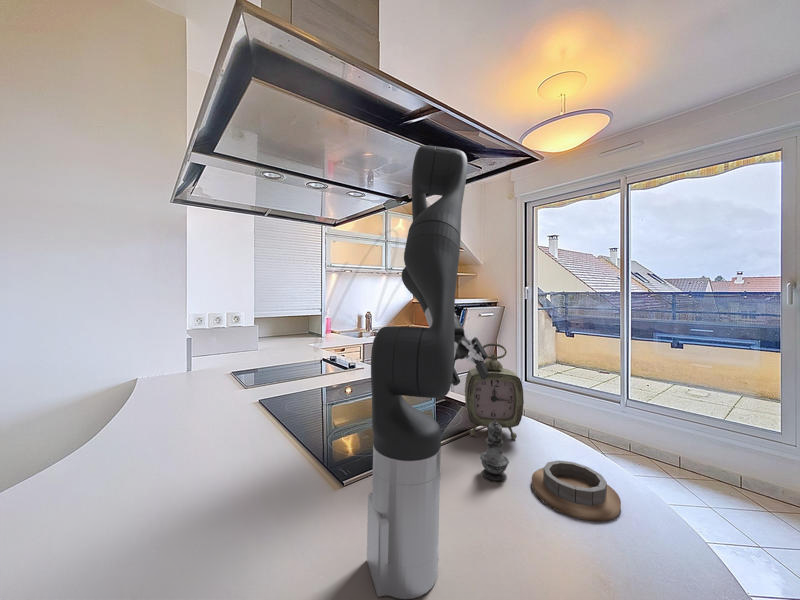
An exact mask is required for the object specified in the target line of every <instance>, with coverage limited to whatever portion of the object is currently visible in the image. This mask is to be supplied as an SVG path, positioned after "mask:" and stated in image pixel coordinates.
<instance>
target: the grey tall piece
mask: <svg viewBox="0 0 800 600" xmlns="http://www.w3.org/2000/svg"><path fill="white" fill-rule="evenodd" d="M496 422H497V421H496V419H495V420H494V422H493V423H491V424H489V426H488V429H487V438H485V441H486V443H487V449H486V451H485V452H483V453H481V454H480V456H479V459H480V461H481V465H482V467H483V468H484V469H482V470H481V471H480V475H481V477H482V478H483V479H485V480H486V481H488V482H491V483H496V484H498V483H499V484H500V483H504V482H506V481H507V479H508V476H507V474H506V473H505V471H506V470H507V467H508V465H509V463H510V460H509V459H508V457H507V456H505V455H504V454H503V444H504V440H503V428H502V427H501V425H500V424H498V423H496Z"/></svg>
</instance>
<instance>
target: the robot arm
mask: <svg viewBox="0 0 800 600" xmlns="http://www.w3.org/2000/svg"><path fill="white" fill-rule="evenodd" d="M467 174H468V157H467V154H466V153H465V152H464V151H462V150H461V149H457V148H450V147H443V146H434V145H420V146H419V147H418V149H417V150H416V153H415V156H414V159H413V164H412V173H411V212H412V222H411V224H410V226H409V229H408V231H407V236H406V242H405V245H404V253H403V261H404V265H405V267H404V268H403V269H402V270H401V280H402V283H403V285H404V287H405V288H406V290H408V291H409V293H410V294H412V296H413V297H414V299H415V300H416V301H417V302H418V303H419V305H420V307H421V309H422V312H423V313H424V316H425V319H426V323H427V325H428V327H419V326H418V327H417V326H397V325H396V326H395V325H388V326H387V325H386V326H383V327H380V328H379V330H378V331H377V332H376V334H375V336H374V337H373V342H372V347H371V356H370V383H371V384H370V385H371V426H372V434H373V435H372V443H373V445H372V481H371V482H372V484H371V487H372V490H371V492H369V493H368V495H367V525H366V526H367V527H366V537H367V539H366V562H367V566H368V569H369V572H370V576H371V579H372V582H373V585H374V589H375V593H376V596H377V597H379V598H381V597H383V596H389V597H392V598H395V599H400V600H411V599H412V600H413V599H417V598H419V597H421V596H423V595H425V594H427V593H428V592H429V591H430V590H431V589H432V588H433V587H434V585H435V584H436V582H437V579H438V573H439V560H440V559H439V557H440V556H439V541H440V540H439V535H440V531H439V530H440V493H441V457H442V453H441V450H442V430H441V427H440V425H439V423H438V422H437V421H436V420H435V419H434V418H433V417H431V416H429V415H428V414H426V413H425V412H422V411H420V410H418V409H417V408H415V407H413V406H412V405H411V404H409V402H407V400H406V399H405V398H404V397H403V396H405V397H414V398H415V397H416V398H427V399H442V398H445V397H446V396H447V395H448V394H449V392H450V389H451V387H452V385H453V386H454V387H455V386H458V385H460V383H461V378H460V377H459V374H458V372H457V371H456V369H455V361H457V360H465V361H467V362H471V363H472V364H473V365H475V367H474V368H476V369H477V371H478V373H479V375H480V377H481V379H482V380H484V379H486V378H487V377H489V372H488V370H487V368H486V366H485V362H484V361H486V360H487V359H488V358H487V357H488V356H489V355H488V354H487V352H486V350H485V348H483V345H482V343H481V342H480V340H479V339H478V337H476V336H475V337H473V338H472V339H468V338H467V337H466V334H465V329H464V327H463V325H462V323H461V322H460V320H459V318H458V316H457V313H456V311H455V310H456V308H455V305H456V304H455V302H456V290H457V289H456V288H457V281H458V280H457V279H458V271H459V270H458V269H459V261H460V253H461V239H462V238H461V237H462V236H461V233H462V230H461V229H462V228H461V227H462V210H463V209H462V207H463V203H464V202H463V201H464V196H465V195H464V194H465V188H466V184H467V183H466V181H467V177H468V175H467ZM426 194H427V195H435V196H441V197H440V198H439V199H437V200H436V201H435V202H433V203H432V204H430V205H428V203H427V195H426Z"/></svg>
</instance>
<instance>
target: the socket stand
mask: <svg viewBox="0 0 800 600" xmlns="http://www.w3.org/2000/svg"><path fill="white" fill-rule="evenodd" d="M531 488H532V491H533V492H534V494H535V495H536V497H537V498H538V499H540V500H541V501H542V502H543V503H545V504H546V505H547V506H549V507H550V508H552V509H554V510H556V511H558V512H560V513H562V514H564V515H567V516H570V517H573V518H576V519H579V520H585V521H593V522H605V521H611V520H612V519H615V518H617V517H619V515H620V513H621V510H622V509H621V508H622V507H621V506H622V502H621V498H620V496H619V494H618V493H617V491H616V490H615V489H614V488H612V487H611V486H610V485H609V484H608V482H607V480H606V479H605V478H604V477H603V476H602V474H601V473H599V472H597V471H595V469H593V468H590V467H589V466H586V465H584V464H580V463H576V462H573V461H567V460H566V461H565V460H553V461H548V462H546V463H545V465H544V466H543V467H542V468H538V469H537V470H535V471H534V472H533V474H532V475H531Z"/></svg>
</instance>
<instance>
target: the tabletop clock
mask: <svg viewBox="0 0 800 600" xmlns="http://www.w3.org/2000/svg"><path fill="white" fill-rule="evenodd" d="M482 347H483V348H484V349H485V348H487V347H498V348H501V349H503V351H504V354H501V355H499V356H498V355H497V356H496V354H495V353H491V355H488V357H487V358H486V359H488V360H485V362H484V364H485V366H486V368H487V370H488V372H489V377H487V378H486V379H484V380H482V379H481V377H480V375H479V373H478V371H477V369H476V367H473V368H471V369H468V372H467V374H466V378H465V384H464V386H465V387H464V401H465V406H466V411H467V415H468V418H469V419H468V420H469V421H470V423H471V424H473V425H474V426H473V428H472V429H470V430H469V435H470V436H471V437H475V436H476V434H477V432H476V430H477V427H478V426H479V427H486V429H487V430H488V426H489V424H491V423H493V422H494V420H495V419H496V421H497V422H496V423H498V424H500V425H501V427H502V429H504V428H505V429H508V430H509V432H510V434H509V437H510V438H511V439H512V440H515V439H517V437H518V435H517V433H515V432H514V431H513V428H515V427H518V426H520V423H521V421H522V418H523V411H524V402H525V401H524V388H523V383H522V381H521V380H522V379H521V378H520V377H519V376H518V375H517V374H516V373H515V372H514V371H513V370H510V369H508V368H503V365H502V363H501V362H500V361H499V359H500V360H501V359H503V358H504V357H505V356H506V355H507V349H506V347H505V346H503V345H501V344H499V343H487V344H484V345H482Z"/></svg>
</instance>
